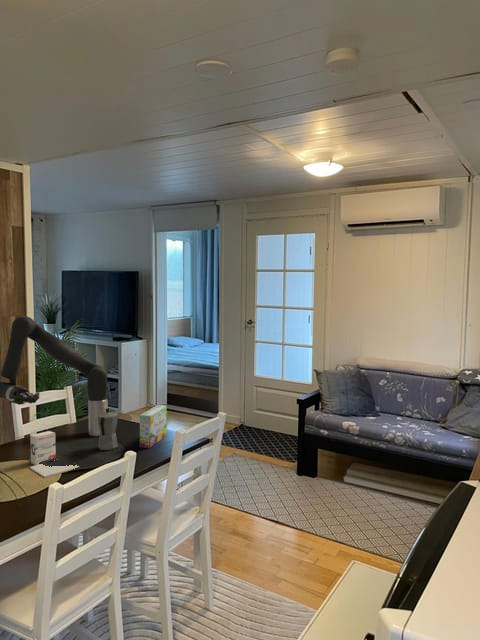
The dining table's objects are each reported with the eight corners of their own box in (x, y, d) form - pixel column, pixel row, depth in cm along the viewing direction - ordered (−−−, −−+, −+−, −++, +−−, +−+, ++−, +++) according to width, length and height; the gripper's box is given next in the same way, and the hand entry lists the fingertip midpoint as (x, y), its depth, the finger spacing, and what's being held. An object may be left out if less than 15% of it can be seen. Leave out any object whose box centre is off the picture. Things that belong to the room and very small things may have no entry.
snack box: (150, 448, 209) (150, 415, 209) (139, 448, 211) (138, 415, 210) (167, 435, 230) (167, 404, 229) (156, 434, 231) (156, 404, 231)
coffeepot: (102, 443, 217) (101, 404, 216) (122, 443, 217) (121, 405, 216) (91, 454, 202) (90, 413, 201) (112, 454, 202) (112, 413, 201)
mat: (63, 459, 195) (63, 458, 195) (79, 467, 186) (79, 466, 186) (29, 468, 185) (29, 466, 185) (44, 477, 176) (44, 476, 176)
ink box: (50, 457, 198) (49, 430, 197) (56, 460, 195) (55, 432, 194) (30, 463, 191) (29, 434, 191) (36, 465, 188) (35, 437, 187)
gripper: (1, 388, 205) (16, 394, 193) (32, 384, 215) (48, 389, 203) (1, 405, 205) (17, 412, 193) (32, 400, 215) (49, 406, 203)
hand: (33, 400), depth 198 cm, fingers closed
